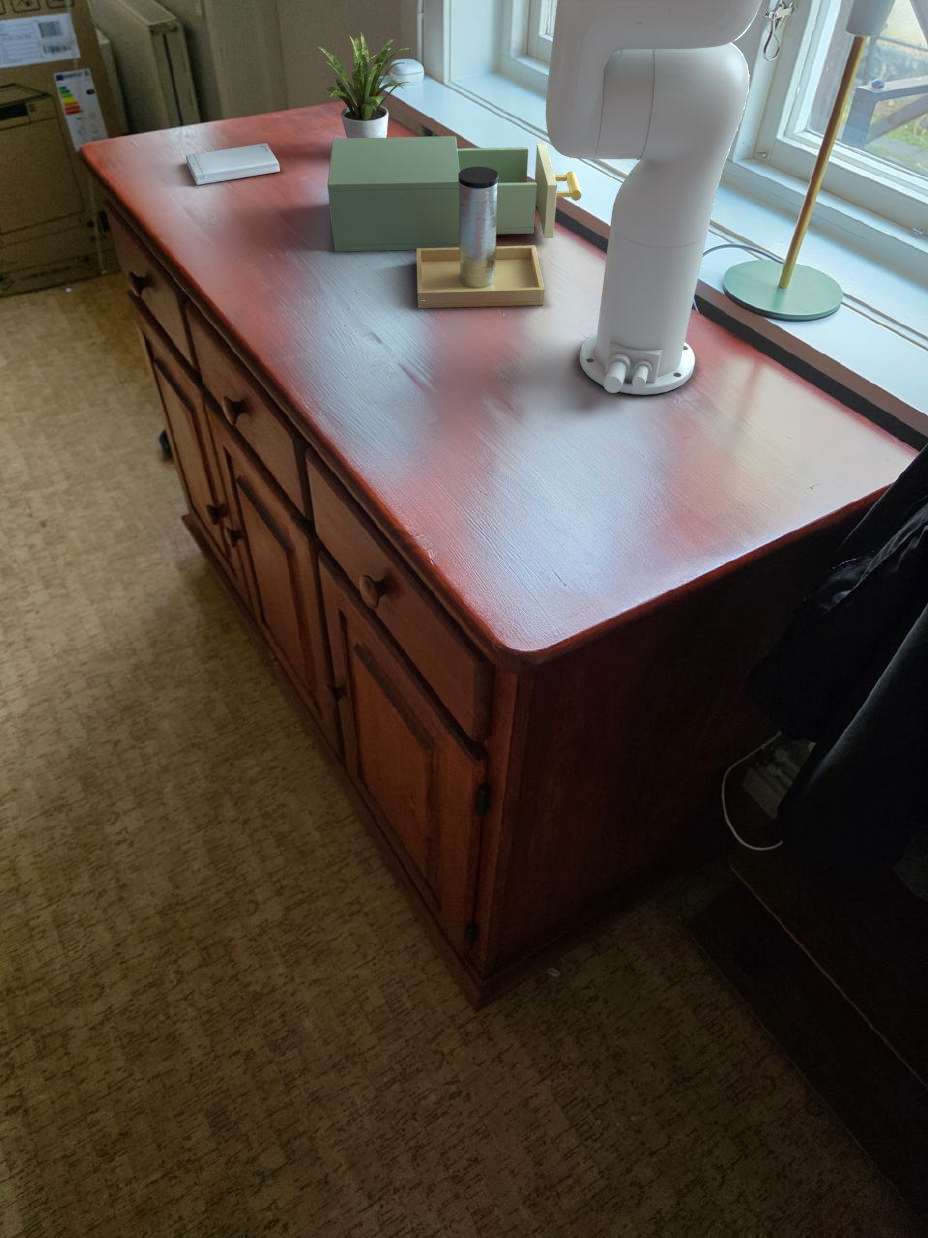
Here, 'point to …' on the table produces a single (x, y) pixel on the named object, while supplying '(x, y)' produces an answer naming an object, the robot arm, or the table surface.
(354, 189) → the cabinet
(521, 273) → the tray
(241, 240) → the table surface
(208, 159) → the hard drive
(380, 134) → the house plant
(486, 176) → the canister
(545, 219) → the drawer
